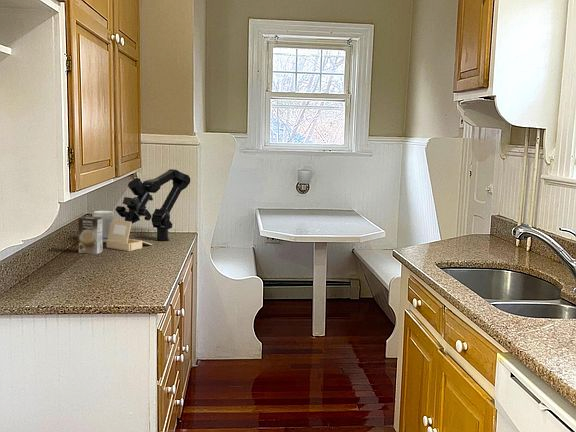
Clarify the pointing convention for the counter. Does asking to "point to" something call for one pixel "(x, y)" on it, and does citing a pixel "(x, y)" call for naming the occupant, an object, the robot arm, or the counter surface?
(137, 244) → the carton
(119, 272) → the counter surface
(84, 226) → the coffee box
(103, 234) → the supplement tub
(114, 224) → the flap
